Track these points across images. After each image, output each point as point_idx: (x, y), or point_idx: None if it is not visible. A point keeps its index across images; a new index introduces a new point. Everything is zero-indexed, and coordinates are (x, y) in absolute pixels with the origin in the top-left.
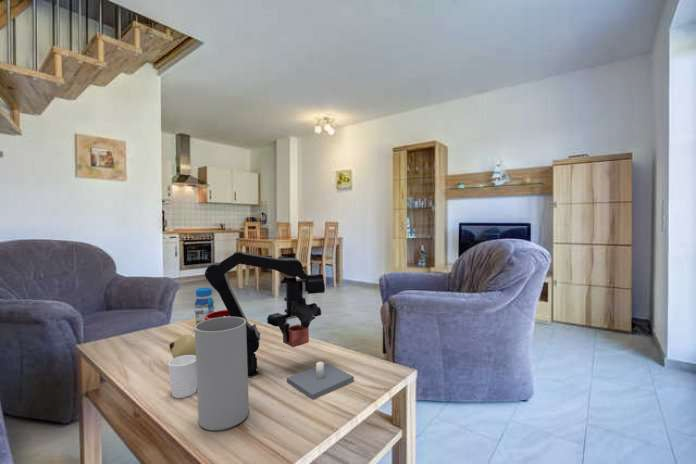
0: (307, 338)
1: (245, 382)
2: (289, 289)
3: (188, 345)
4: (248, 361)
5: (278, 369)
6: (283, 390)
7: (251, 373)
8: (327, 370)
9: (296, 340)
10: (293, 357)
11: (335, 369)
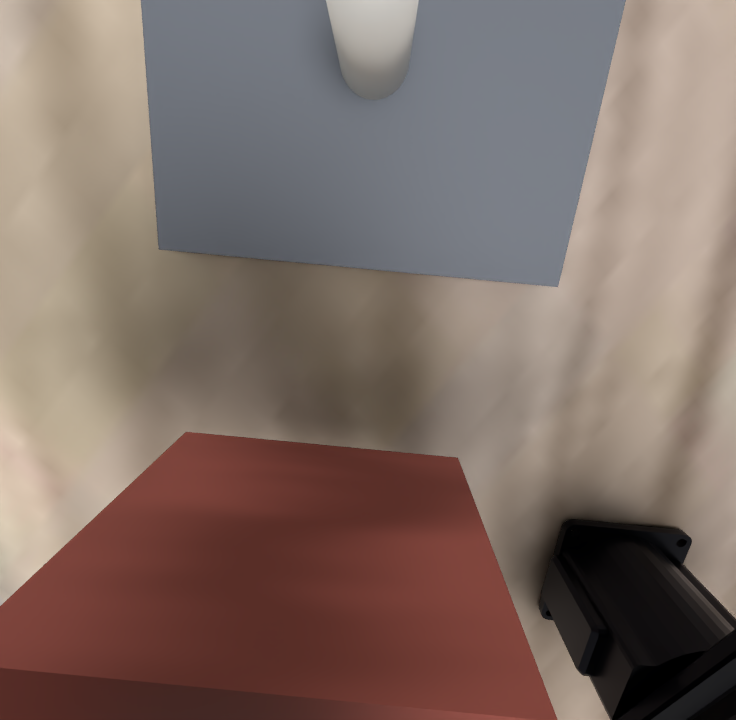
0: (172, 472)
1: None
2: None
3: None
4: (703, 620)
5: None
6: (643, 201)
7: (612, 537)
8: (244, 114)
9: (403, 509)
10: None
11: (176, 69)
